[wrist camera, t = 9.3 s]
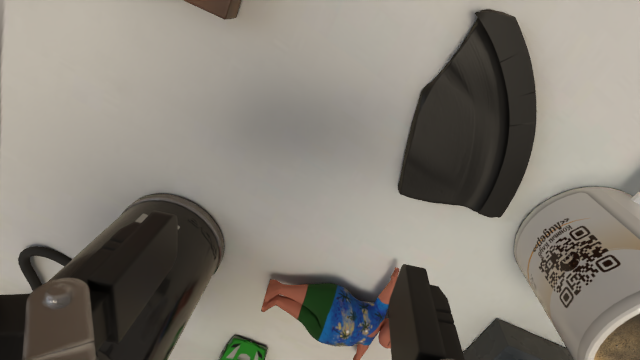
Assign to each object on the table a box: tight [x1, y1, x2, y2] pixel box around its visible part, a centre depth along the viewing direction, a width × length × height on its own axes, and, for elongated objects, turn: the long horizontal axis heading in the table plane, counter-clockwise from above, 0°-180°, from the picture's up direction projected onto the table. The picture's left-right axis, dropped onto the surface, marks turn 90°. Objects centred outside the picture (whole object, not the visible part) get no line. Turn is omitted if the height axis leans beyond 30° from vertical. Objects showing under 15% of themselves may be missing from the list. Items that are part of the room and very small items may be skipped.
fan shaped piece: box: [398, 9, 536, 218], centre depth 26 cm, size 8×14×2 cm, turn 171°
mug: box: [514, 187, 640, 360], centre depth 24 cm, size 10×12×11 cm
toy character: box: [261, 268, 399, 360], centre depth 33 cm, size 12×5×15 cm
